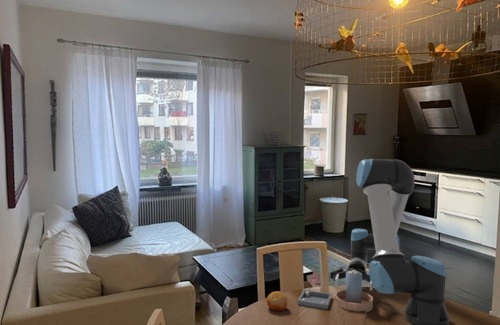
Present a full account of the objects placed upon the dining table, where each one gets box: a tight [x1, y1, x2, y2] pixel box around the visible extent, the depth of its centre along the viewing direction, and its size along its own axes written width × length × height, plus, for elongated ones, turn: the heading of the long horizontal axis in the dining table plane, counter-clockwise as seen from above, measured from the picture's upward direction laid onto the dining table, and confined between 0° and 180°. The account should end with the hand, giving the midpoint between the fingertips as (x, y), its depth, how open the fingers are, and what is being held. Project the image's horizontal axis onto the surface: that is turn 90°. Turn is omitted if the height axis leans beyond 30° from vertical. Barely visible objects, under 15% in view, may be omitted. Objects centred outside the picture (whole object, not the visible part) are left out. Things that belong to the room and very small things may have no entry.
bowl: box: [333, 288, 374, 313], centre depth 157 cm, size 15×15×4 cm
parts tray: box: [297, 289, 333, 310], centre depth 158 cm, size 12×12×3 cm
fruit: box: [266, 290, 288, 312], centre depth 151 cm, size 8×8×8 cm
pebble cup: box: [345, 270, 363, 303], centre depth 156 cm, size 6×6×13 cm
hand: (353, 284), depth 153 cm, fingers open, 13 cm apart
